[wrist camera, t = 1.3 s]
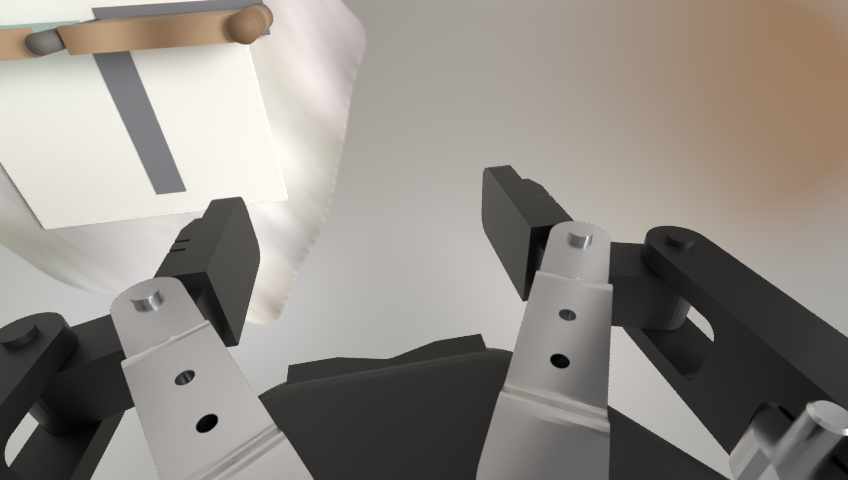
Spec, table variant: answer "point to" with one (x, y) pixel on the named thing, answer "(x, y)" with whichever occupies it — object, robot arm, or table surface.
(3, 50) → the tan and green panel
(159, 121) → the board
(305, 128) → the table surface
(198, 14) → the fixed fence section
